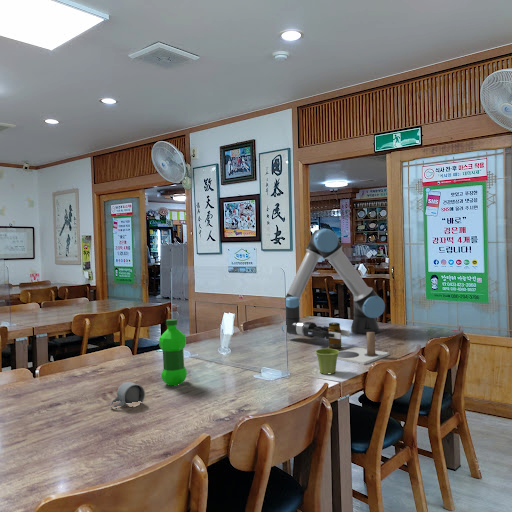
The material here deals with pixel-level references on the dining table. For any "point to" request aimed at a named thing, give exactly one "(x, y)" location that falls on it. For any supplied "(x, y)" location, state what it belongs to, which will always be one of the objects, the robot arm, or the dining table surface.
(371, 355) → the board
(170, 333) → the plastic bottle
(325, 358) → the plant pot
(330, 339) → the condiment
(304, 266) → the robot arm
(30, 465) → the dining table surface
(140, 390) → the ceramic mug
